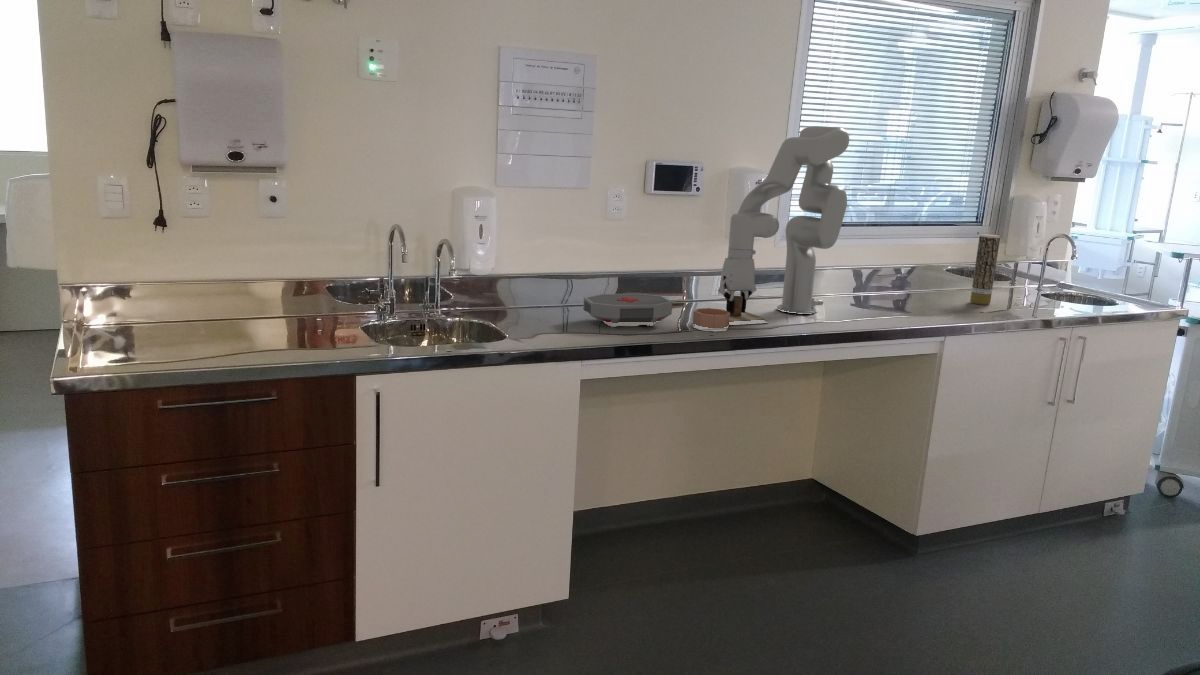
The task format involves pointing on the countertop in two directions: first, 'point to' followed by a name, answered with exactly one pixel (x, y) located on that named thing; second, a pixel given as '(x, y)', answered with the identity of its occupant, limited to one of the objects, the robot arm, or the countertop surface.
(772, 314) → the countertop surface
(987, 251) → the bark textured cylinder
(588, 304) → the first aid kit
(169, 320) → the countertop surface
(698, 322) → the bowl
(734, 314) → the cover
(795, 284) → the robot arm
